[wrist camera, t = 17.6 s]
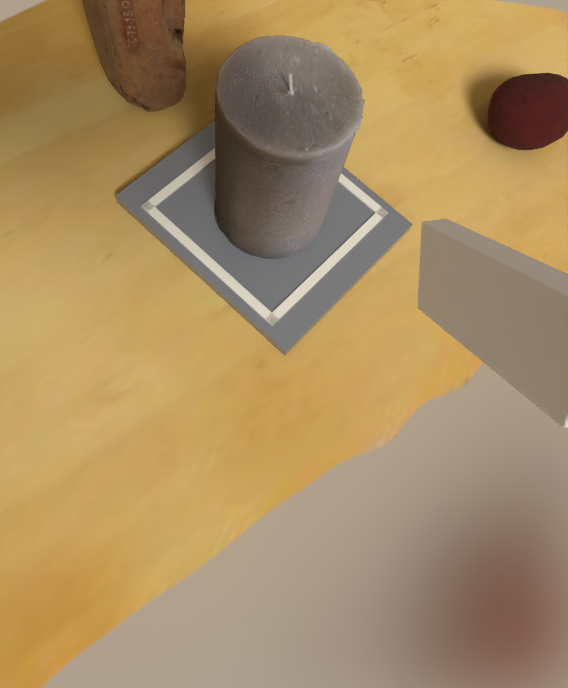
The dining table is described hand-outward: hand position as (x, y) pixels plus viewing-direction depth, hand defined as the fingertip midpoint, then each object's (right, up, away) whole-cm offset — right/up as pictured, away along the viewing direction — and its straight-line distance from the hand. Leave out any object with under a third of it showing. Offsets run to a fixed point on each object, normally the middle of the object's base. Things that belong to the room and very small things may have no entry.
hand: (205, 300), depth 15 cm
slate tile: (+1, +10, +33) cm, 34 cm away
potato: (+26, +20, +39) cm, 51 cm away
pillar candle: (+1, +10, +32) cm, 34 cm away
